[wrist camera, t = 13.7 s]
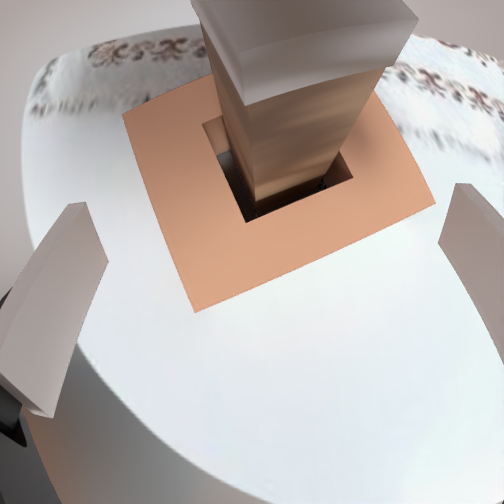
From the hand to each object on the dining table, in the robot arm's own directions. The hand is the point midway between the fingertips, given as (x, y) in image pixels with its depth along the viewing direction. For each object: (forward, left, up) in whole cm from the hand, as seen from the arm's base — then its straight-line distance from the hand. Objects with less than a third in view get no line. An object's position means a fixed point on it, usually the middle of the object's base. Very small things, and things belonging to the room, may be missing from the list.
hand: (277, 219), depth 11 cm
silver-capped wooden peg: (-2, -4, -10) cm, 11 cm away
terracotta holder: (-2, -4, -10) cm, 11 cm away
